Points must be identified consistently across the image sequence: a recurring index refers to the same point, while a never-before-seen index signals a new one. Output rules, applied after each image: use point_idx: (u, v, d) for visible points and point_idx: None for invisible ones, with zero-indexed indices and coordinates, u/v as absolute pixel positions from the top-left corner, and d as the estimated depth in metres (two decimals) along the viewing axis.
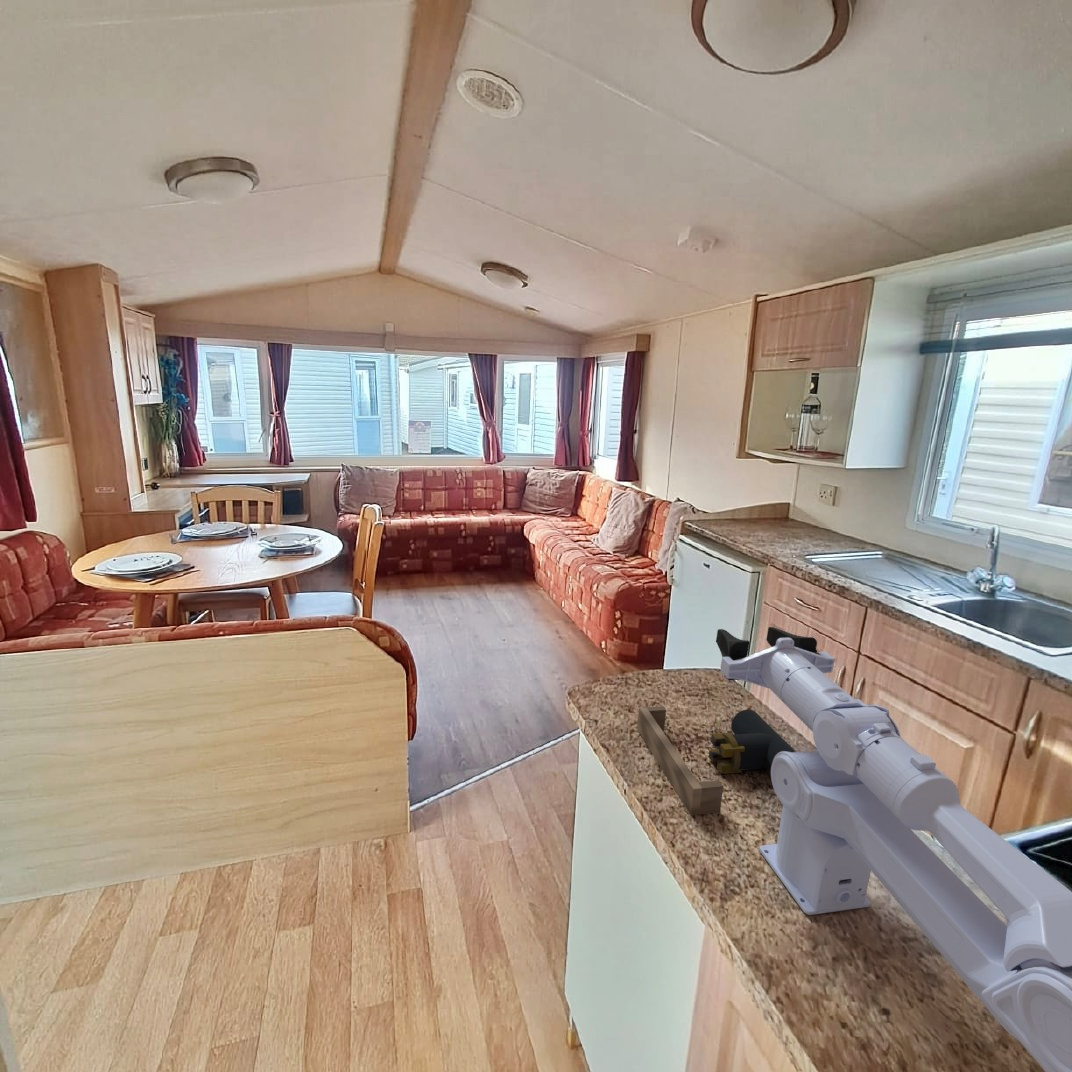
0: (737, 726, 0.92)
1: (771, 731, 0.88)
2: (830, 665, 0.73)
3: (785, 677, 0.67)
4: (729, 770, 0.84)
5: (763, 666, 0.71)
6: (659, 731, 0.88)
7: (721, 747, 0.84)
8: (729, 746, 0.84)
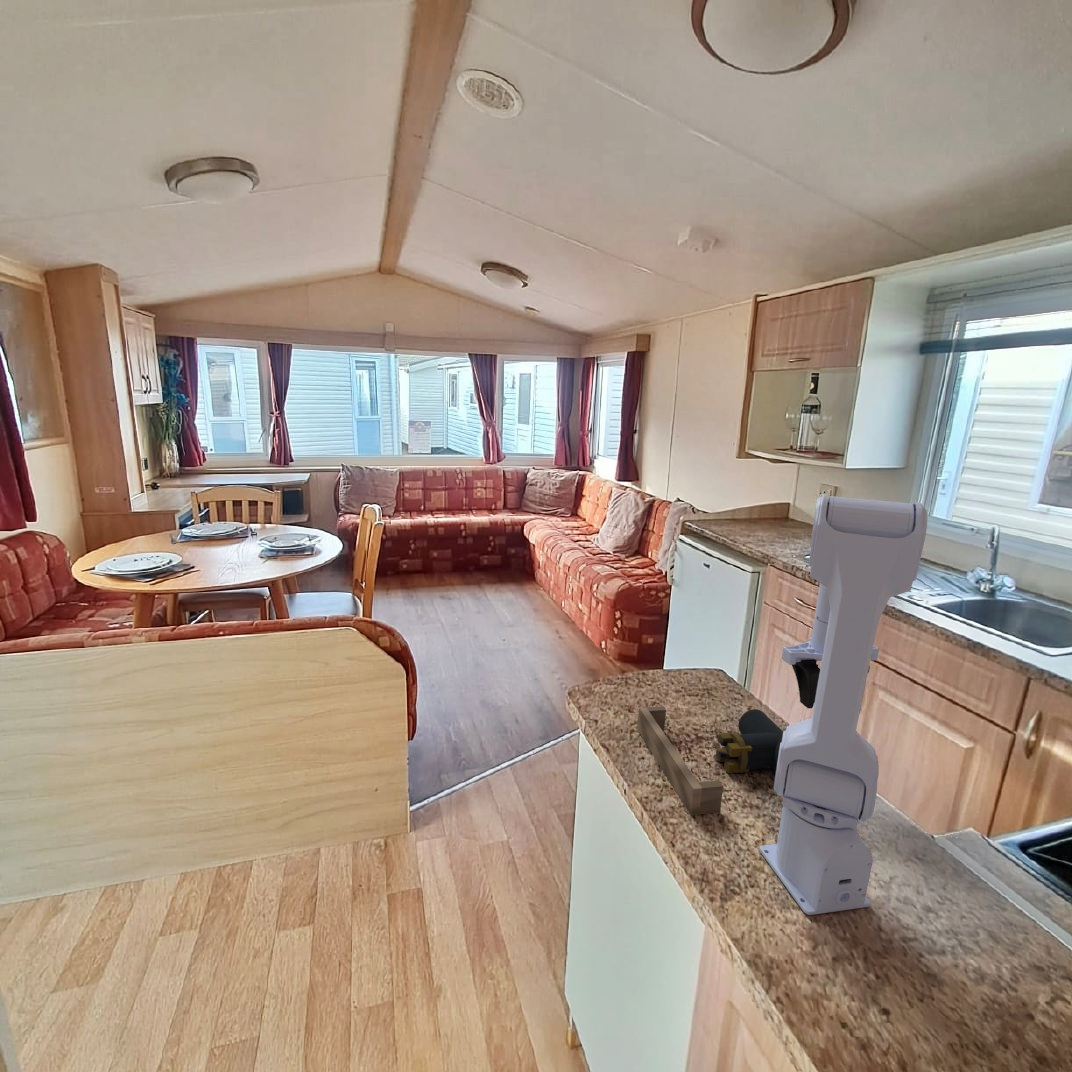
0: (744, 726, 0.92)
1: (778, 731, 0.88)
2: None
3: (814, 617, 0.85)
4: (736, 769, 0.84)
5: (812, 645, 0.85)
6: (659, 731, 0.88)
7: (728, 746, 0.84)
8: (736, 745, 0.84)
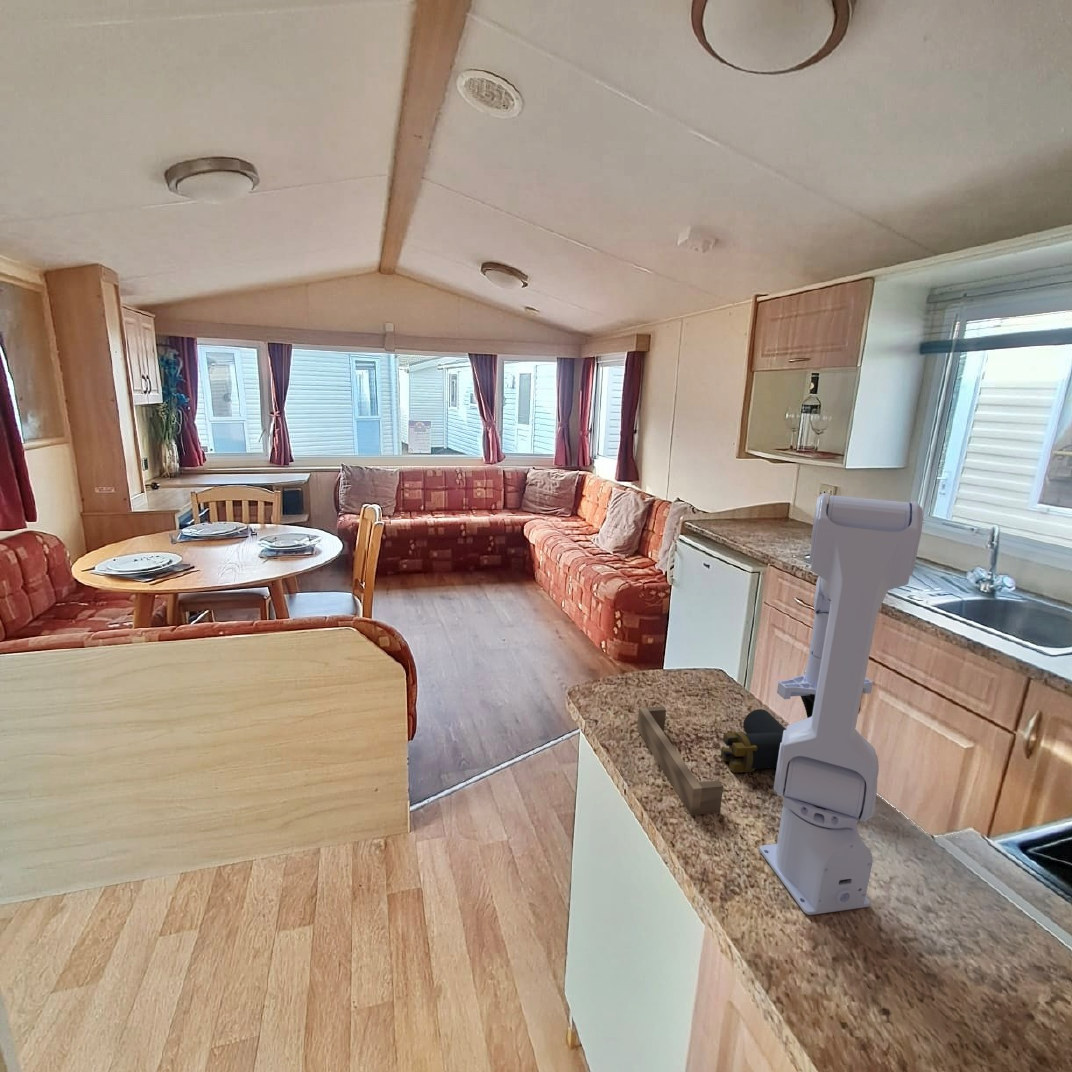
0: (749, 726, 0.92)
1: (783, 730, 0.88)
2: (865, 679, 0.87)
3: (809, 652, 0.86)
4: (741, 769, 0.84)
5: (807, 679, 0.86)
6: (659, 731, 0.88)
7: (733, 746, 0.84)
8: (741, 745, 0.84)
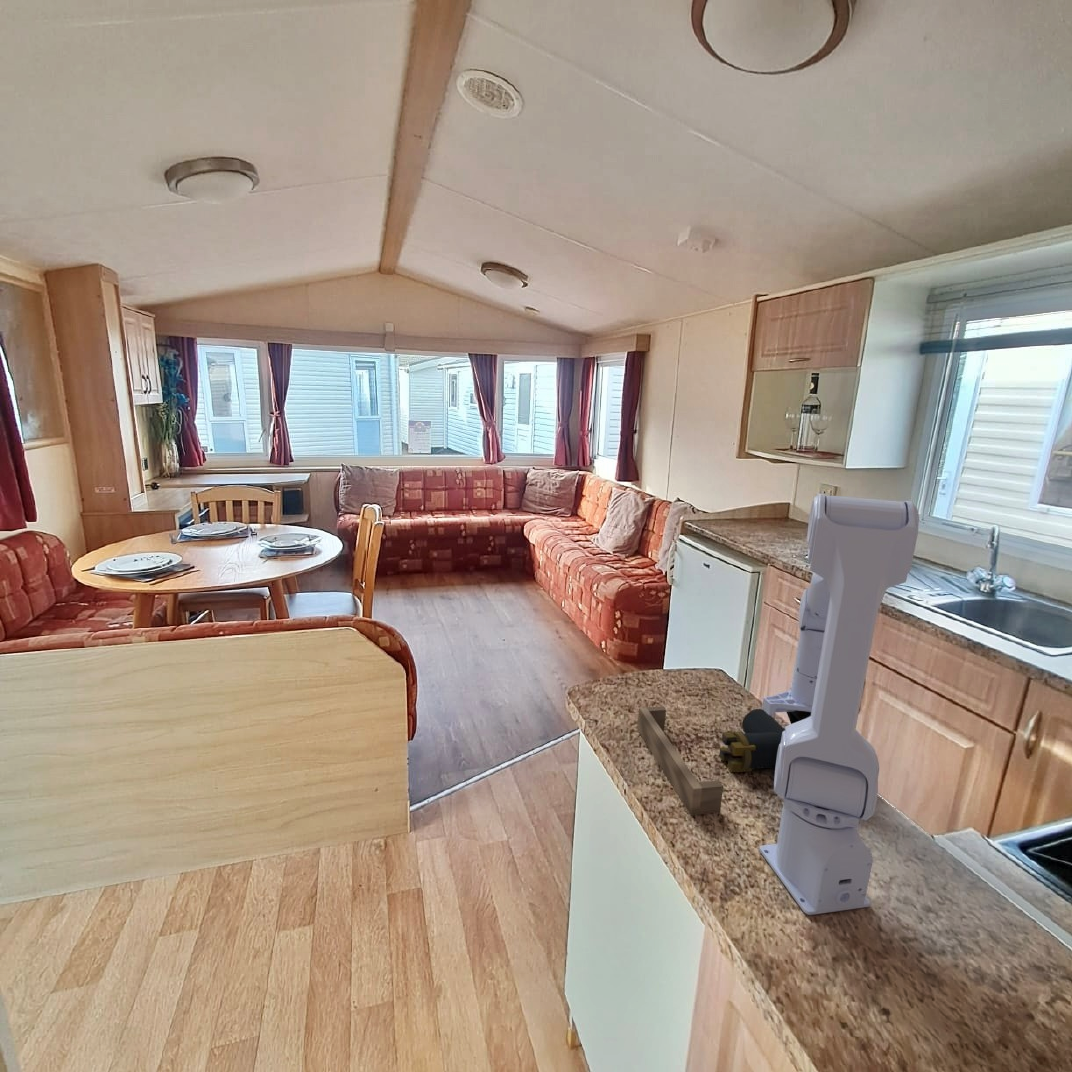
0: (748, 725, 0.92)
1: (782, 730, 0.88)
2: None
3: (794, 668, 0.86)
4: (740, 769, 0.84)
5: (792, 695, 0.86)
6: (659, 731, 0.88)
7: (732, 745, 0.84)
8: (740, 745, 0.84)
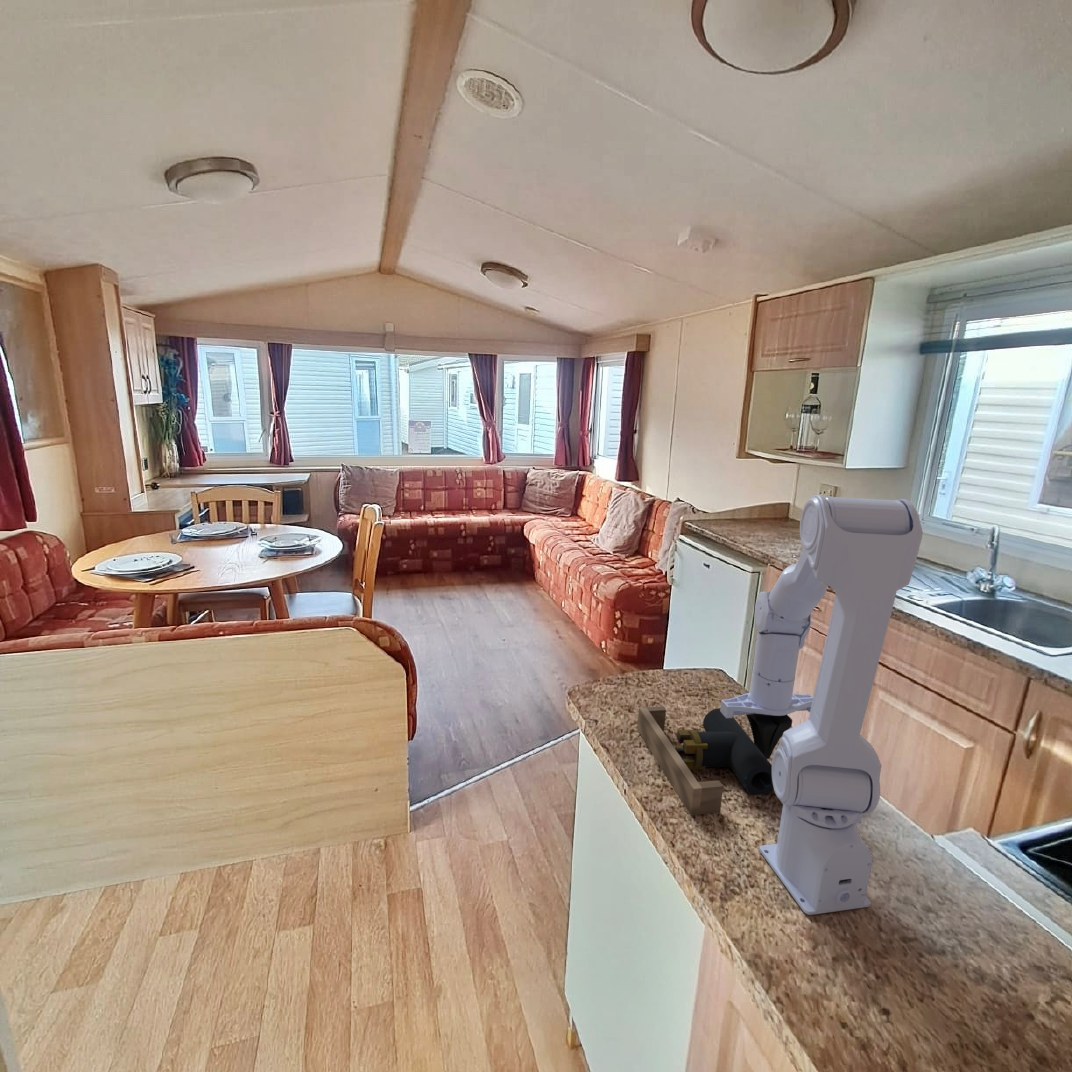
0: (708, 724, 0.92)
1: (738, 730, 0.87)
2: (810, 697, 0.86)
3: (753, 670, 0.85)
4: (692, 766, 0.84)
5: (750, 697, 0.85)
6: (659, 731, 0.88)
7: (684, 743, 0.84)
8: (692, 742, 0.84)
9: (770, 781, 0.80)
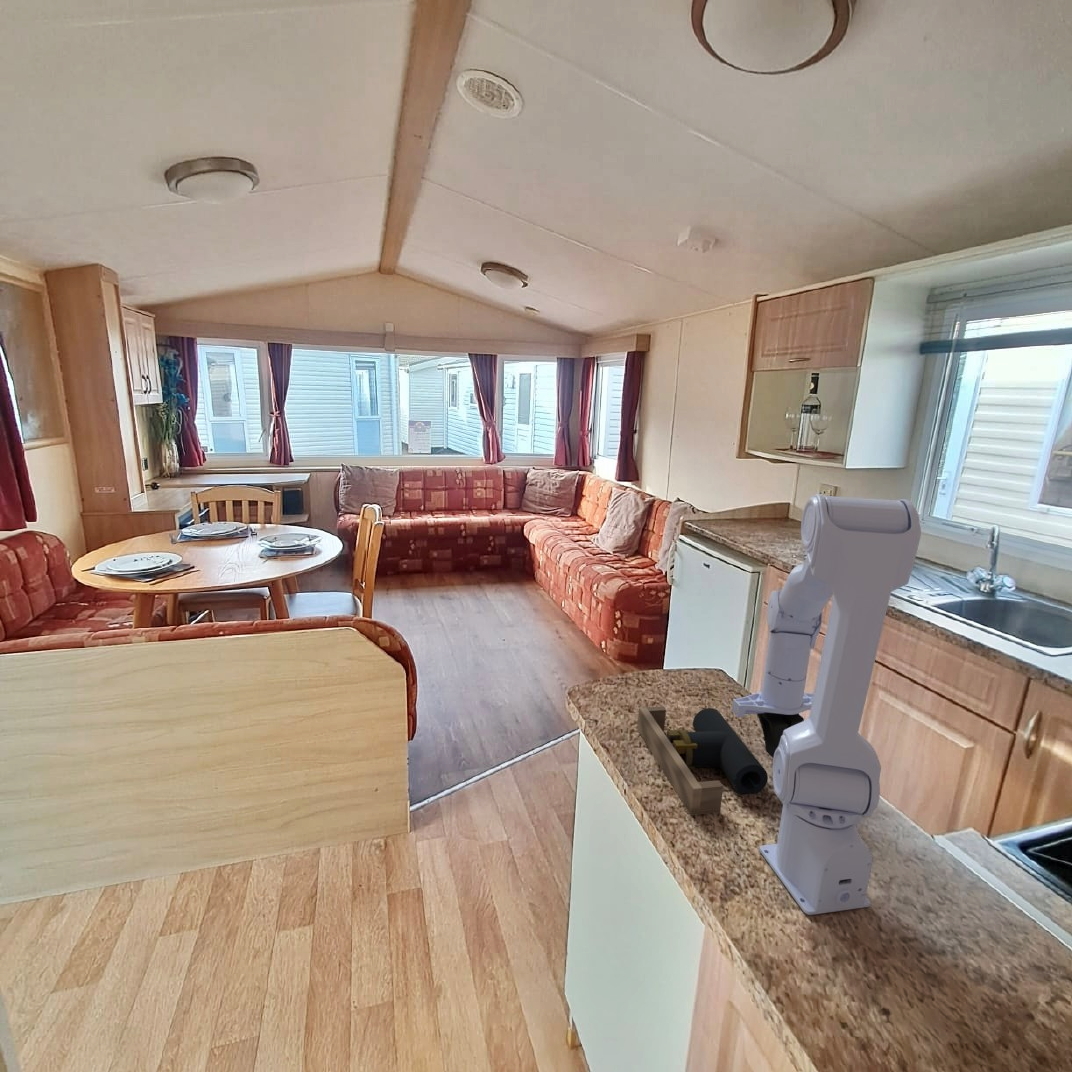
0: (697, 724, 0.92)
1: (728, 729, 0.88)
2: None
3: (764, 669, 0.85)
4: None
5: (762, 696, 0.85)
6: (659, 731, 0.88)
7: (674, 743, 0.84)
8: (682, 743, 0.84)
9: (759, 781, 0.80)
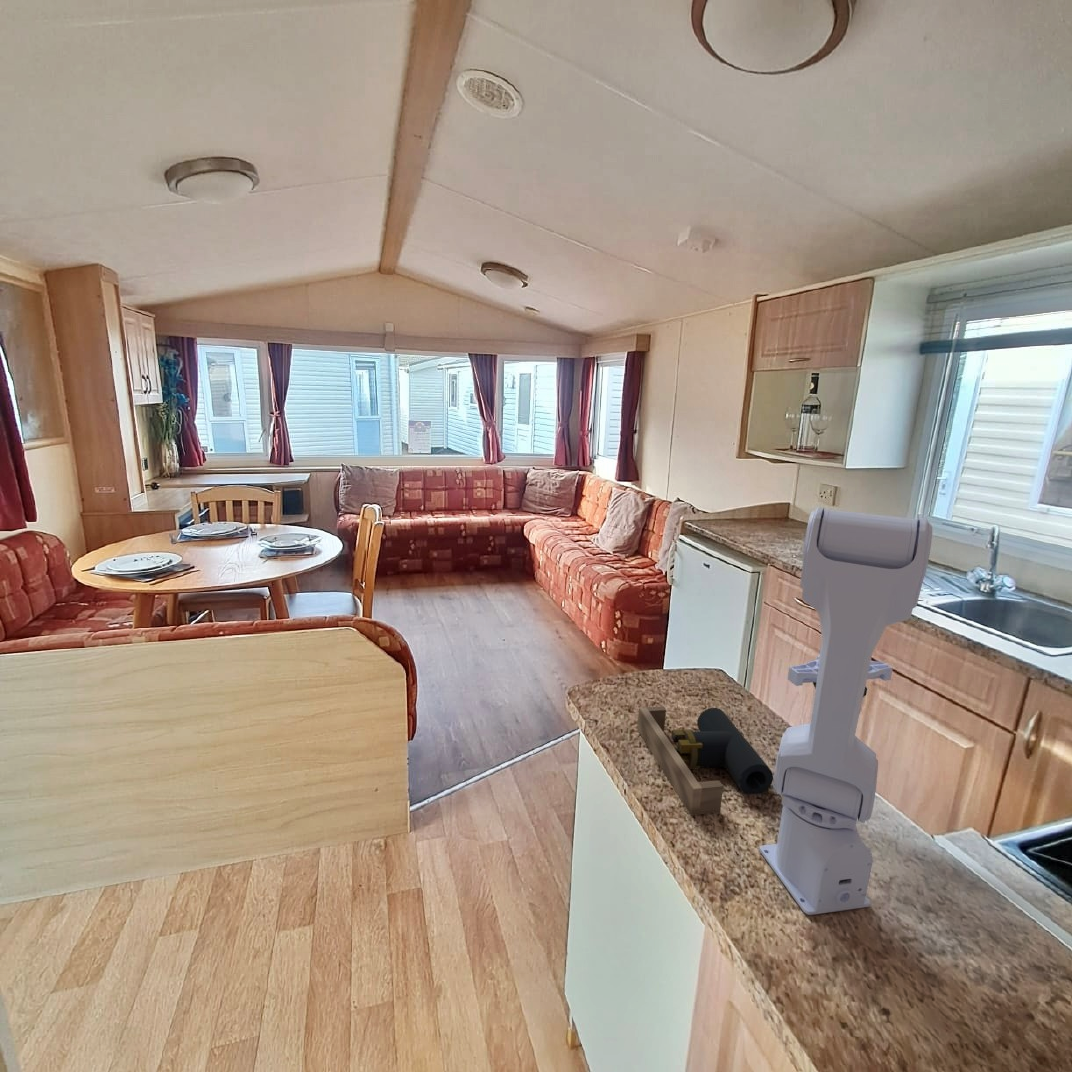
0: (702, 724, 0.92)
1: (732, 729, 0.88)
2: (884, 664, 0.80)
3: None
4: None
5: None
6: (659, 731, 0.88)
7: (679, 743, 0.84)
8: (687, 742, 0.84)
9: (765, 780, 0.80)
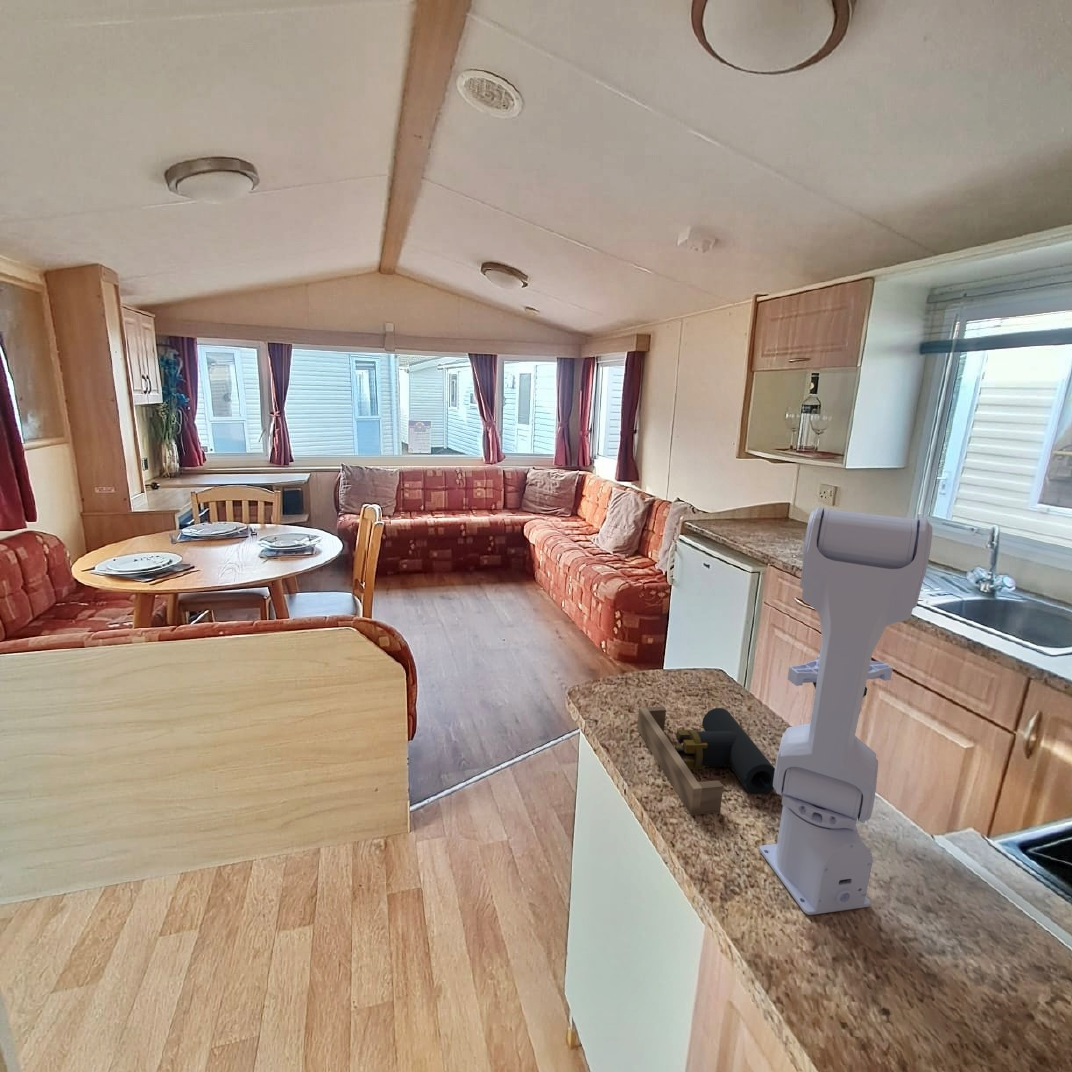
0: (707, 724, 0.92)
1: (738, 729, 0.88)
2: (884, 664, 0.80)
3: None
4: (692, 766, 0.85)
5: None
6: (659, 731, 0.88)
7: (684, 743, 0.85)
8: (692, 742, 0.84)
9: (770, 780, 0.80)
